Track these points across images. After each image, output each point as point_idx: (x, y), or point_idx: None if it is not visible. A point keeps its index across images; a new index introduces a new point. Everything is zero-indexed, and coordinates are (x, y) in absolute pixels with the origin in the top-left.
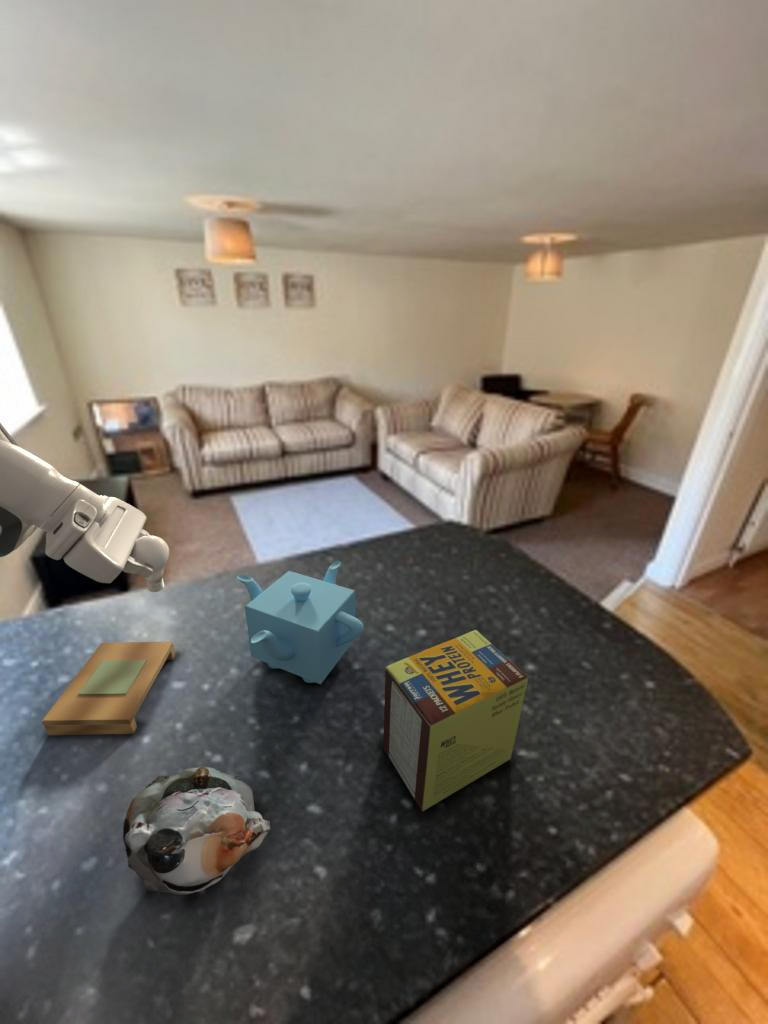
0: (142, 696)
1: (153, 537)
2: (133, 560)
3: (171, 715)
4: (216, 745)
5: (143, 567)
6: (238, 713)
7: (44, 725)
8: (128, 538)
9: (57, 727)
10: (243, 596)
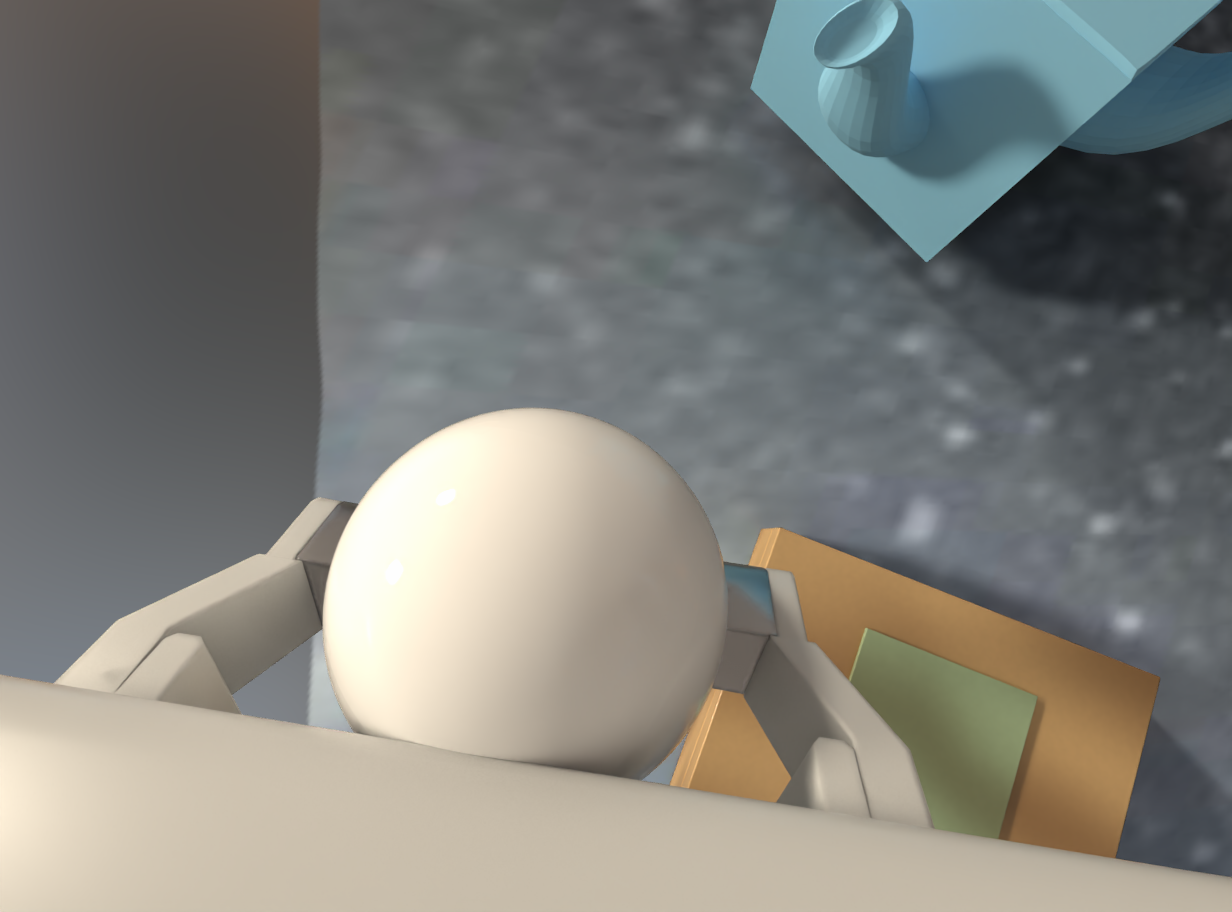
0: (1056, 636)
1: (500, 521)
2: (854, 755)
3: (1053, 547)
4: (1206, 424)
5: (804, 643)
6: (1105, 351)
7: None
8: (552, 901)
9: None
10: (482, 252)
